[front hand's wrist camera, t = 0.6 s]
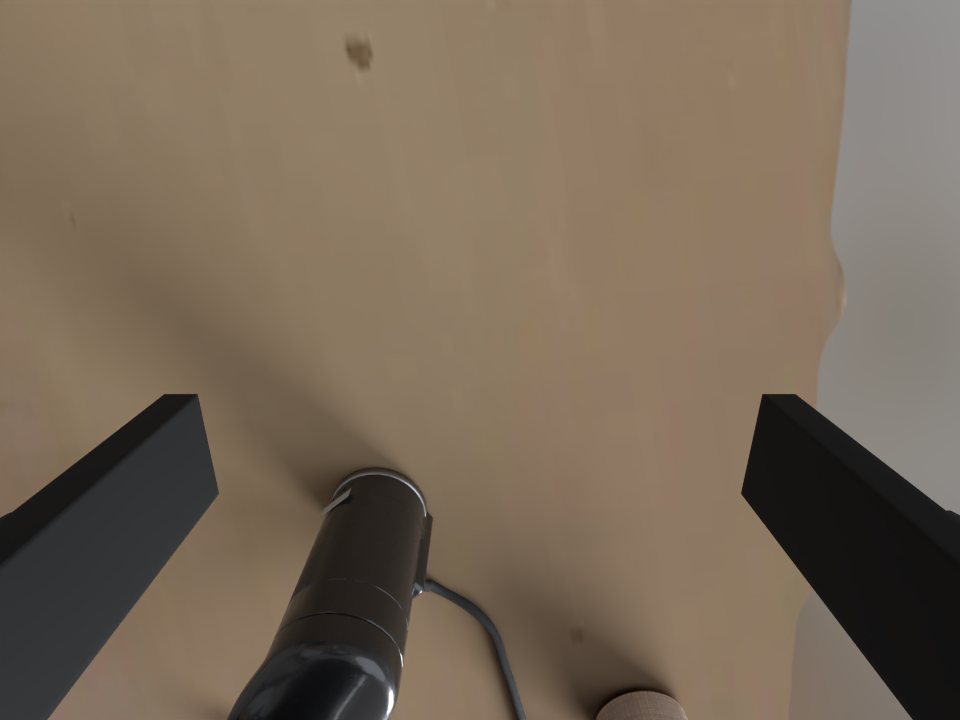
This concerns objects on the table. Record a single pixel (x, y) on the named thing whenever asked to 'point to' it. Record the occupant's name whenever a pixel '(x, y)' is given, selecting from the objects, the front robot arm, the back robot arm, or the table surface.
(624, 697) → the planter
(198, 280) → the table surface
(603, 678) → the table surface
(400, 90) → the table surface
